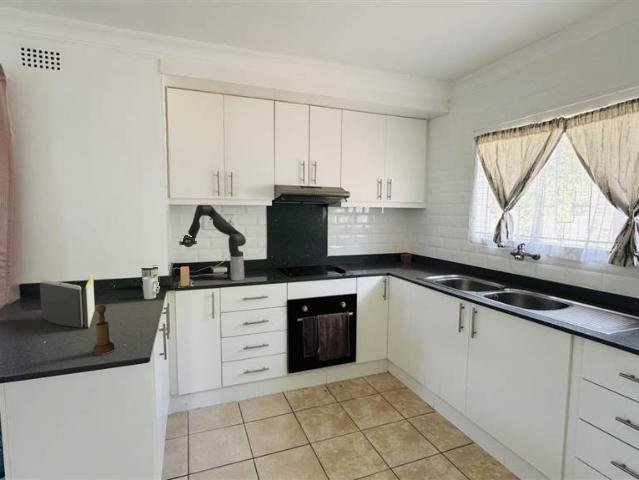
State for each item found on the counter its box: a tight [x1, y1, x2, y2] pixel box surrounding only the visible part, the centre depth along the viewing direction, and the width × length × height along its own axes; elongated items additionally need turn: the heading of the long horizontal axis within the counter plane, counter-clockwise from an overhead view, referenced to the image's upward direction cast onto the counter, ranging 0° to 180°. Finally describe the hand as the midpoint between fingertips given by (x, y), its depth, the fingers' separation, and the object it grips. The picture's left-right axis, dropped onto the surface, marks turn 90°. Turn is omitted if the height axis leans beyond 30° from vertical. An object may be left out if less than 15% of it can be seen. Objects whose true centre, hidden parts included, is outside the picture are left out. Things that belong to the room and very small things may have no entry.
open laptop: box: [39, 274, 96, 328], centre depth 164 cm, size 35×22×20 cm, turn 67°
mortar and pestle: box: [92, 304, 115, 354], centre depth 127 cm, size 7×6×18 cm
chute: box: [178, 279, 195, 287], centre depth 229 cm, size 10×12×2 cm
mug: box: [141, 277, 161, 300], centre depth 198 cm, size 10×7×12 cm, turn 77°
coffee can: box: [140, 267, 158, 290], centre depth 220 cm, size 10×10×14 cm
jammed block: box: [179, 266, 190, 286], centre depth 226 cm, size 5×4×12 cm
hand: (187, 243), depth 243 cm, fingers closed
